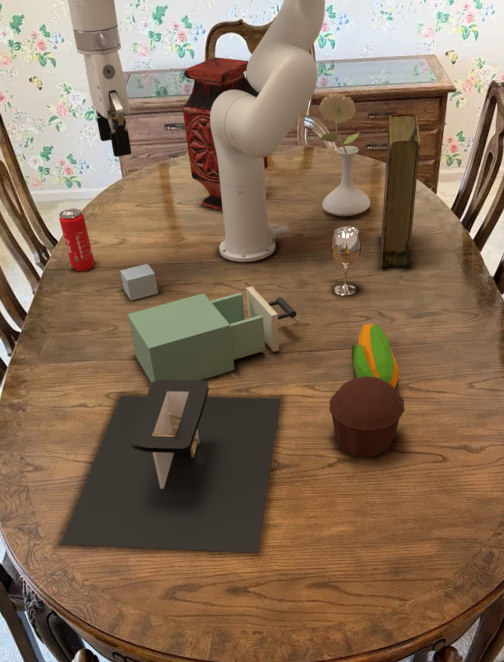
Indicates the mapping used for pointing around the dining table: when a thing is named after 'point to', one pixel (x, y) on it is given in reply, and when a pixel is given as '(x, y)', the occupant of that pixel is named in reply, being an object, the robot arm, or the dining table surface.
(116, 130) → the robot arm
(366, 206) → the flower in vase
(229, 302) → the drawer
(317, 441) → the dining table surface
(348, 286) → the wineglass
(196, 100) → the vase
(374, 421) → the muffin
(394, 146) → the book
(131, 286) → the carton
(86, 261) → the beverage can
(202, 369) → the cabinet
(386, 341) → the corn
